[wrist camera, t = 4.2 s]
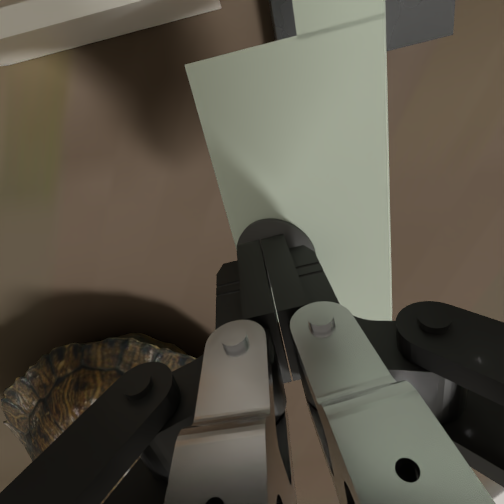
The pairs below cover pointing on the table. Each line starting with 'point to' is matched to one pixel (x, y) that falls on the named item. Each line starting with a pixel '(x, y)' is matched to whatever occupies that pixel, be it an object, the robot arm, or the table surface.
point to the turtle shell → (76, 385)
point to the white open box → (81, 22)
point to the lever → (309, 144)
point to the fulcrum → (397, 20)
